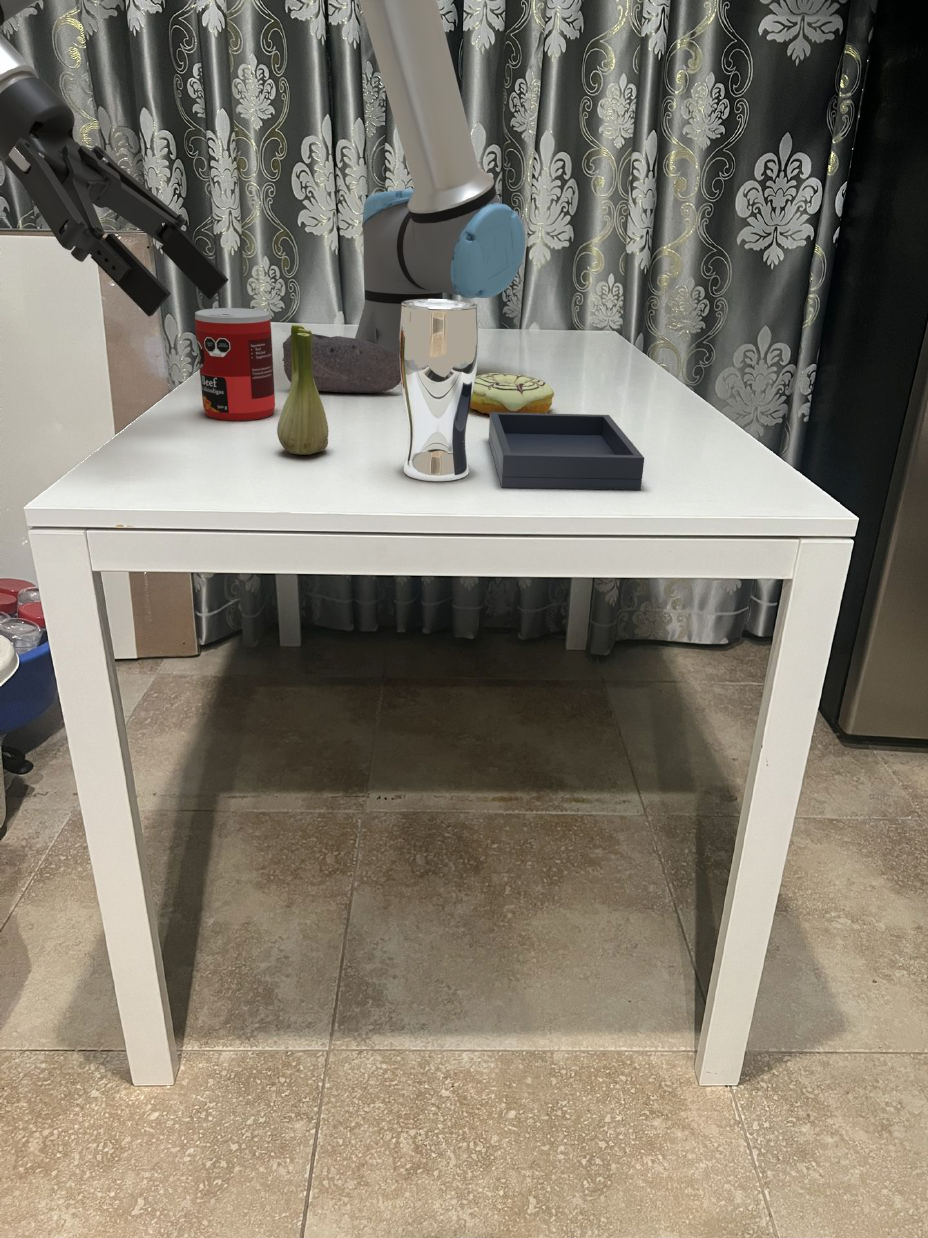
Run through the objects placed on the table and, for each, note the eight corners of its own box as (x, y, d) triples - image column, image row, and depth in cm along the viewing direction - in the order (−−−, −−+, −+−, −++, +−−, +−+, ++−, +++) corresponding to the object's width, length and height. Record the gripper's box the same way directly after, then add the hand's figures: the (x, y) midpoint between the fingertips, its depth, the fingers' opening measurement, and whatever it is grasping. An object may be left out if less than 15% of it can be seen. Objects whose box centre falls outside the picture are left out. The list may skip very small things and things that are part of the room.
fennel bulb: (318, 462, 86) (313, 331, 81) (269, 458, 87) (261, 328, 82) (336, 447, 91) (333, 323, 86) (289, 443, 92) (283, 320, 87)
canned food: (198, 408, 105) (189, 308, 100) (267, 404, 108) (261, 307, 103) (209, 423, 98) (200, 317, 94) (282, 418, 101) (277, 316, 97)
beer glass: (414, 486, 80) (415, 309, 74) (388, 465, 86) (387, 298, 80) (485, 479, 83) (493, 307, 76) (455, 459, 89) (460, 297, 82)
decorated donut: (522, 424, 103) (524, 391, 101) (445, 409, 108) (446, 377, 106) (567, 409, 110) (569, 377, 109) (493, 396, 116) (495, 366, 114)
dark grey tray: (488, 440, 96) (489, 411, 94) (606, 442, 96) (609, 414, 95) (501, 487, 81) (503, 454, 80) (640, 490, 82) (644, 457, 80)
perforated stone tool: (407, 391, 117) (407, 335, 114) (400, 399, 112) (400, 341, 109) (293, 384, 118) (291, 329, 115) (282, 393, 114) (278, 335, 111)
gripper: (62, 146, 92) (216, 309, 97) (-111, 131, 69) (102, 345, 74) (104, 87, 89) (261, 258, 94) (-61, 52, 66) (157, 279, 71)
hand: (191, 297), depth 84 cm, fingers open, 13 cm apart
